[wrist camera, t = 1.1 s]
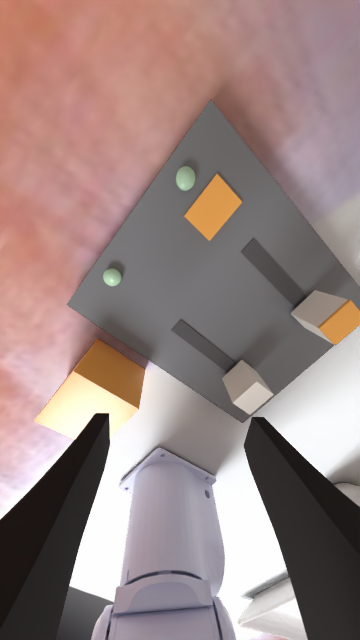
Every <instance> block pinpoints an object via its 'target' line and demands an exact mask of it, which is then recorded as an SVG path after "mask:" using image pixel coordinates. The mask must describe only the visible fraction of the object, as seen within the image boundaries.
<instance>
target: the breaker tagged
mask: <svg viewBox="0 0 360 640" xmlns="http://www.w3.org/2000/svg"><path fill="white" fill-rule="evenodd" d="M290 314H291V315H292V316H293V317H294V318H295V319H296V320H297V321H298V322H299V323H300V324H301V325H302V326H303V327H304V328H306V329H308V330H309V331H311V332H313V333H315V334H316V335H318V336H320V337H322V338H323V339H325V340H327V341H329V342H330V343H332V344H334V345H337V344H338V343H339V342H340V341H341V340H342V339H344V338H345V337H346V336H347V335H348V334H349V333H351V332H352V331H353V330H354V329H355V328H357V327H358V326H359V325H360V311H359V309H358V308H357V307H356V306H355V305H354V303H353V302H352V301H351V300H348V299H345V298H341V297H338V296H334V295H330V294H327V293H323V292H320V291H316V290H315V291H313V292H312V293H311V294H310V295H309V296H308V297H307V298H306V299H305V300H304V301H303V302H302V303H301V304H300V305H299V306H298V307H297V308H296V309H295V310H293V311H292V312H291V313H290Z"/></svg>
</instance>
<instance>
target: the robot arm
mask: <svg viewBox="0 0 360 640" xmlns="http://www.w3.org/2000/svg"><path fill="white" fill-rule="evenodd" d="M109 446H110V422H109V413H95V414H94V415H93V417H92V418H91V419H90V421H89V422H88V423H87V425H86V426H85V427H84V429H83V430H82V431H81V433H80V434H79V435H78V436H77V438H76V439H75V440H74V441H73V442H72V444H71V445H70V446H69V447H68V448H67V450H66V451H65V452H64V453H63V454H62V456H61V457H60V458H59V459H58V460H57V461H56V463H55V464H54V465H53V466H52V467H51V468H50V469H49V470H48V471H47V472H46V474H45V475H44V476H43V477H42V478H41V479H40V480H39V481H38V482H37V483H36V484H35V486H34V487H33V488H32V489H31V490H30V491H29V492H28V493H27V494H26V495H25V496H24V497H23V498H22V499H21V500H20V501H19V502H18V503H17V504H16V505H15V506H14V507H13V508H12V509H11V510H10V511H9V512H8V513H7V514H6V515H5V516H4V517H3V518H2V519H1V520H0V640H55V639H56V636H57V632H58V627H59V624H60V620H61V616H62V611H63V608H64V603H65V599H66V596H67V591H68V587H69V584H70V580H71V576H72V572H73V568H74V564H75V560H76V556H77V553H78V549H79V546H80V542H81V539H82V535H83V532H84V529H85V526H86V523H87V520H88V517H89V514H90V511H91V508H92V505H93V502H94V499H95V496H96V493H97V490H98V487H99V484H100V480H101V477H102V474H103V471H104V468H105V463H106V459H107V455H108V450H109ZM244 448H245V452H246V456H247V460H248V463H249V467H250V470H251V472H252V475H253V478H254V480H255V483H256V485H257V488H258V490H259V493H260V495H261V498H262V500H263V503H264V505H265V508H266V511H267V513H268V516H269V518H270V521H271V523H272V526H273V528H274V531H275V534H276V537H277V539H278V542H279V545H280V549H281V552H282V555H283V558H284V561H285V564H286V567H287V571H288V574H289V577H290V580H291V584H292V587H293V591H294V594H295V597H296V601H297V604H298V607H299V611H300V614H301V618H302V621H303V625H304V629H305V632H306V636H307V639H308V640H360V507H359V506H358V505H357V504H356V503H355V502H353V501H352V500H351V499H350V498H348V497H347V496H346V495H345V494H344V493H342V492H341V491H340V490H339V489H338V488H337V487H335V486H334V485H333V484H332V483H331V482H330V481H329V480H328V479H327V478H325V477H324V476H323V475H322V474H321V473H320V472H319V471H318V470H317V469H315V468H314V467H313V466H312V465H311V464H310V463H309V462H308V461H307V460H306V459H305V458H304V457H303V456H302V455H301V454H300V453H299V452H298V451H297V450H296V449H295V448H294V447H293V446H292V445H291V444H290V443H289V442H288V441H287V440H286V439H285V438H284V437H283V436H282V435H281V434H280V433H279V432H278V431H277V430H276V429H275V428H274V427H273V426H272V425H271V424H270V423H269V422H268V421H267V420H266V419H265V418H264V417H252V420H251V423H250V426H249V430H248V433H247V436H246V440H245V443H244ZM215 482H216V478H215V476H213V475H211V474H209V473H208V472H206V471H204V470H202V469H200V468H198V467H196V466H194V465H192V464H191V463H189V462H187V461H185V460H183V459H181V458H179V457H177V456H175V455H174V454H172V453H170V452H168V451H166V450H164V449H162V448H157V449H155V450H154V451H153V452H152V453H151V454H150V455H149V456H148V457H147V458H146V459H145V460H144V461H143V462H142V463H141V464H139V465H138V466H137V467H136V468H135V469H134V470H133V471H132V472H131V473H130V474H129V475H128V476H127V477H126V478H125V479H123V480H122V481H121V482H120V484H119V488H120V489H122V490H124V491H126V492H129V493H131V494H132V500H131V507H130V515H129V522H128V530H127V537H126V544H125V552H124V559H123V567H122V574H121V582H120V586H118V587H117V588H116V595H115V601H114V605H108V606H106V607H105V609H104V611H103V613H102V614H101V616H100V617H99V619H98V620H97V622H96V624H95V627H94V631H93V634H92V638H91V640H236V638H235V633H234V629H233V626H232V622H231V619H230V616H229V614H228V612H227V610H226V608H225V607H224V606H223V604H222V602H221V600H220V599H219V597H216V595H217V594H218V592H219V590H220V587H221V584H222V581H223V575H224V564H225V555H224V546H223V540H222V535H221V530H220V525H219V520H218V515H217V510H216V504H215V499H214V494H213V489H212V485H213V484H214V483H215Z"/></svg>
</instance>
